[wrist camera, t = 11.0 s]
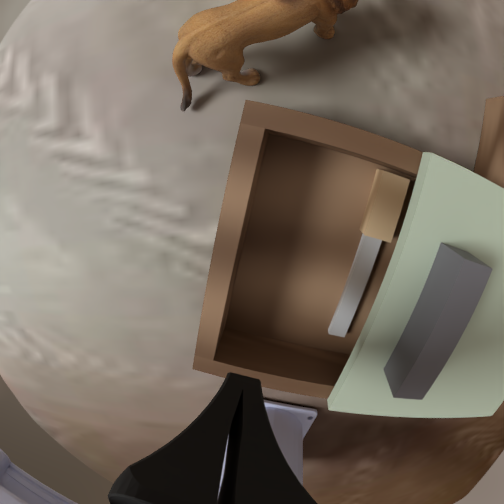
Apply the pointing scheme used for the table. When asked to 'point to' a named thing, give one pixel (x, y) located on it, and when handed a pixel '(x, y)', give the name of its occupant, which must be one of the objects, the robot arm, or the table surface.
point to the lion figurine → (245, 35)
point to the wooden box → (308, 243)
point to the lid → (436, 307)
